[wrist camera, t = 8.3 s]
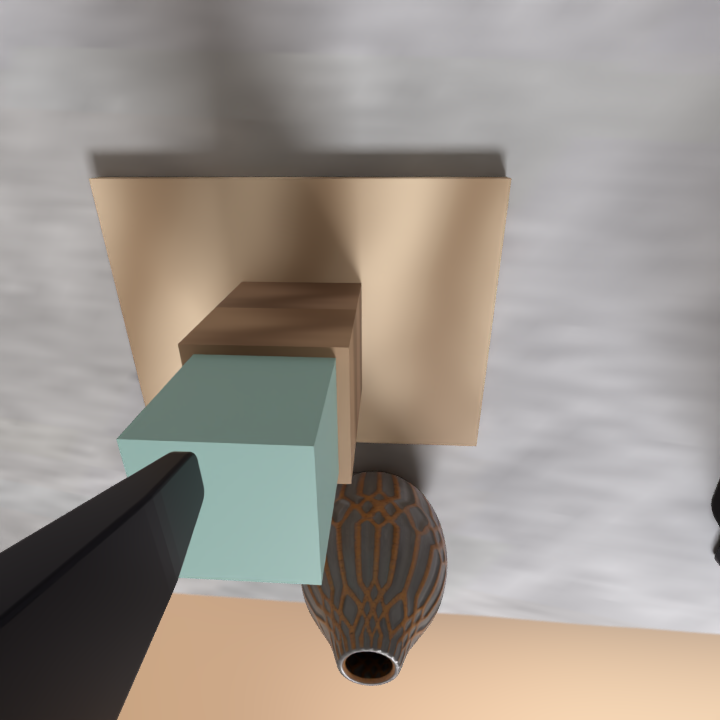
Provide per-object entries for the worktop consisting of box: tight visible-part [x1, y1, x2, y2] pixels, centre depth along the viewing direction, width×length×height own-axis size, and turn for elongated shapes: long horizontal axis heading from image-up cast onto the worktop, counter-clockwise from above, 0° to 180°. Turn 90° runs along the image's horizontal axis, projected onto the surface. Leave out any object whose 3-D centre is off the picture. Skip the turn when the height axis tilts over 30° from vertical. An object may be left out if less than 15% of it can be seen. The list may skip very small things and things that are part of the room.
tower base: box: [216, 282, 362, 429], centre depth 19 cm, size 5×5×3 cm
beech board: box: [89, 177, 511, 446], centre depth 20 cm, size 16×12×1 cm
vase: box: [301, 472, 447, 686], centre depth 21 cm, size 7×7×9 cm
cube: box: [117, 354, 339, 585], centre depth 12 cm, size 4×4×4 cm
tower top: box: [178, 307, 357, 484], centre depth 16 cm, size 5×5×3 cm
